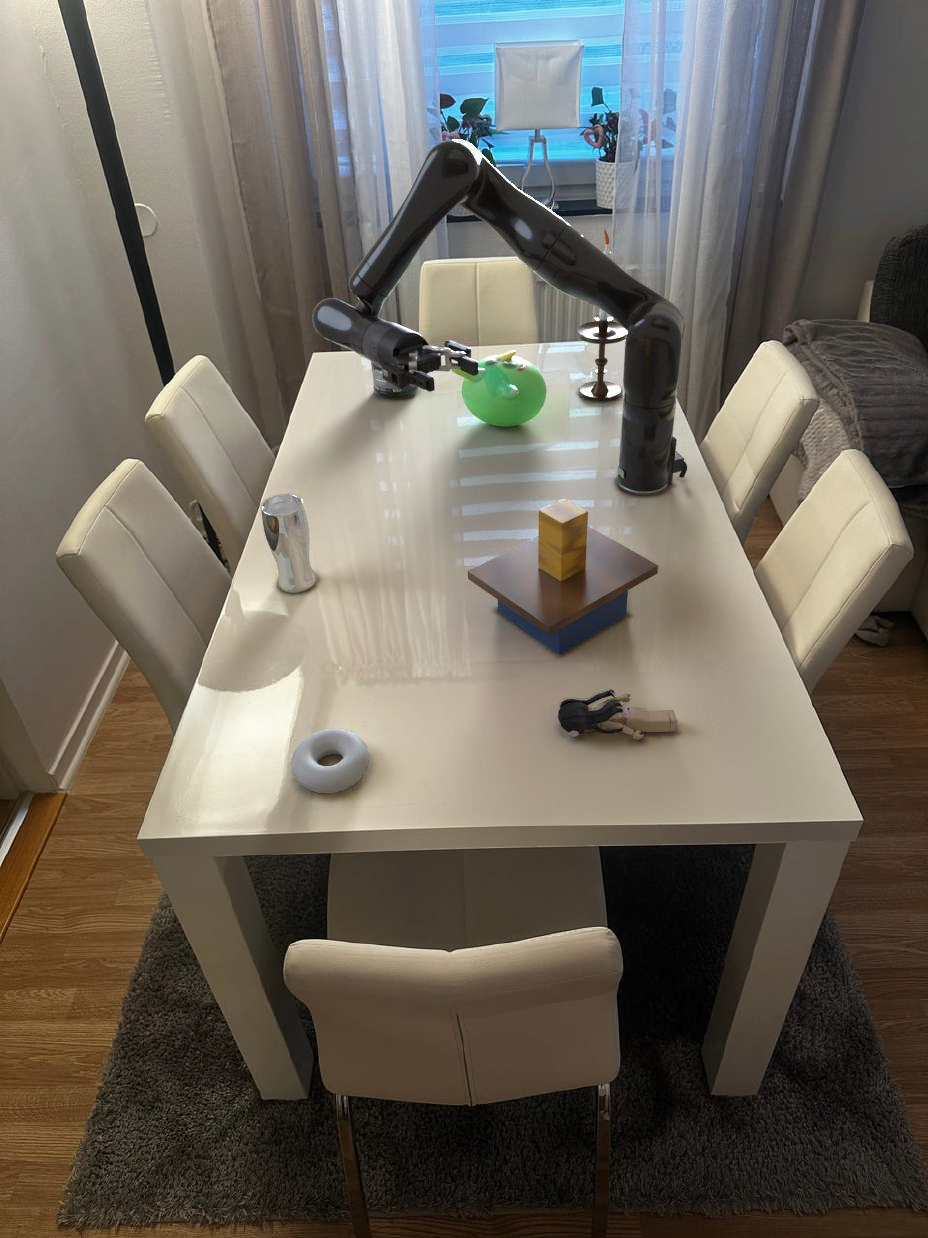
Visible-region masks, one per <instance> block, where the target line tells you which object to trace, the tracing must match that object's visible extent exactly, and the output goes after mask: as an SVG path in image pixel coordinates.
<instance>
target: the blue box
mask: <svg viewBox="0 0 928 1238" xmlns="http://www.w3.org/2000/svg"><path fill="white" fill-rule="evenodd" d="M628 595H629V590H628V591H626V592H624V593H622V594H621V595H619V596H617V597H615V598H614V599H612V600H610V601H608V602H607V603H605V604H603V605H601V606H600V607H598V608H596V609H594V610H593V611H591V612H589V613H587V614H586V615H584V616H582V617H580V618H579V619H577V620H575V621H573V622H572V623H570V624H568V625H566V626H565V627H563V628H561V629H559V630H558V631H556V632H554V633H552V634H551V635H548V634H546V633H545V632H544V631H542V630H541V629H539V628H538V627H536V626H535V625H534V624H532V623H531V622H529V621H528V620H526V619H525V618H523V617H522V616H521V615H519V614H518V613H516V612H515V611H513V610H512V609H511V608H509V607H508V606H506V605H505V604H503V603H502V602H500V601H499V600H498V599H497V612H498V613H500V614H501V615H503V616H504V617H506V618H507V619H508V620H510V621H511V622H513V623H514V624H515V625H517V626H518V627H520V628H521V629H523V630H524V631H526V633H528V634H530V635H531V636H533V637H534V638H535V639H536V640H538V641H540V642H541V643H542V644H544V645H545V646H547V647H548V648H550V650H552V651H554V652H555V653H557V654H558V655H561V654H563V653H564V652H566V651H568V650H569V649H571V648H573V647H575V646H577V645H578V644H580V643H581V642H584V641H585V640H586V639H588V638H590V637H591V636H594V635H595V634H597V633H598V632H600V631H602V630H604V629H605V628H607V627H609V626H611V625H612V624H614V623H615V622H617V621H619V620H620V619H623V618H624V617H626V616H627V608H628V597H629V596H628Z"/></svg>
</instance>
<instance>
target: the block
mask: <svg viewBox="0 0 928 1238" xmlns="http://www.w3.org/2000/svg"><path fill="white" fill-rule="evenodd" d="M588 519H589V511H588V510H587V509H585V508H583V507H582V506H579V505H577V504H576V503H574V502H572V501H571V500H568V499H567V498H566V497H565V498H561V499H559V500H557V501H554V502H552V503H551V504H548V505H546V506H544V507H542V508H540V509H538V536H539V540H538V567H539V568H540V569H542V570H543V571H545V572H546V573H548V574H550V575H551V576H553V577H554V578H556V579H557V580H559V581H561V582H562V581H564V580H565V579H567V578H569V577H571V576H573V575H575V574H577V573H579V572H580V571H582V570H584V569H586V547H587V526H589V525H588V523H589V522H588V521H589V520H588Z"/></svg>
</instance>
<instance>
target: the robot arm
mask: <svg viewBox="0 0 928 1238" xmlns="http://www.w3.org/2000/svg"><path fill="white" fill-rule="evenodd" d="M407 193H408V194H407V195H406V197H405V198H404V200H403V202H402V204H401V205H400V207H399V209H397V212H396V213H395V215H394V217H393V218H392V219H391V221H390V222H389V223H388V224H387V226H386V227H385V229H383V231H382V232H381V234H380V235H379V236H378V238H377V239H376V240H375V241H374V243H373V244H372V245H371V247H370V249H368V251H367V252H366V254H365V255H364V256H363V258H362V259H361V261H360V262H359V263H358V265H357V266H356V268H355V269H354V270H353V272H352V273H351V275H350V277H349V278H348V287H349V290H350V291H351V293H352V294H353V295H354V296H355V297H356V298H357V299H358V302H357V304H356V305H355V306H353V305H351V304H349V303H347V302H345V301H343V300H341V299H339V298H336V297H326V298H324V299H321V300H320V301H319V302H317V304H316V305H315V307H314V308H313V311H312V314H311V322H312V326H313V329H314V330H315V332H316V333H317V334H318V336H320V337H321V338H323V339H324V340H328V341H330V342H332V343H334V344H336V345H339V346H341V347H343V348H345V349H348V350H350V351H352V352H354V353H356V354H357V355H358V356H360V357H362V358H364V359H366V360H368V361H372V362H373V363H374V364H375V365H377V366H379V367H380V368H382V377H383V379H384V380H386V381H388V382H389V383H391V384H393V385H394V386H396V387H398V388H400V389H404V388H406V385H409V384H410V386H412V387H415V386H417V387H419V388H420V389H422V390H425V391H427V392H429V393H432V392H434V391H435V390H436V388H435V387H436V386H435V379H434V377H433V376H432V375H429V373H433V372H450V371H452V370H451V369H461V370H462V371H464V372H466V373H468V374H470V375H473V376H475V375H478V360H475V359H473V358H472V347H469V346H466V345H463V344H460V343H458V342H456V341H453V340H448V339H447V340H445V341H443V342H444V343H443V344H444V345H443V346H442V347H438V346H435V345H430V344H429V343H428V341H427V340H426V338H425V337H424V336H423V335H422V334H420V333H419V332H416V331H414V330H412V329H409V328H407V327H405V326H403V325H400V324H398V323H395V322H393V321H387V320H385V319H383V318H380V317H379V316H380V313H381V311H382V308H383V306H384V303H385V302H386V300H387V299H388V298H389V296H390V295H391V294H392V292H393V291H394V289H395V288H396V287H397V286H398V284H400V281H401V280H402V279H403V277H404V276H405V274H406V273H407V271H408V270H409V269H410V267H411V265H412V263H413V262H414V260H415V259H416V257H417V255H418V253H419V252H420V251H421V248H422V246H423V245H424V244H425V242H426V240H427V239H428V237H429V236H430V235H431V234H432V232H433V231H434V230H435V228H436V227H437V226H438V225H439V224H440V223H441V222H442V221H443V220H444V219H445V218H446V217H447V216H448V215H449V214H450V213H451V212H452V211H453V210H454V209H455V208H456V207H457V206H459V207H462V208H463V209H465V210H466V211H468V212H469V213H471V214H472V215H473V216H475V217H476V218H478V219H479V220H481V221H482V222H483V223H485V224H486V225H488V226H489V227H490V229H492V230H493V231H494V232H495V233H496V234H497V235H498V236H499V238H500V239H501V240H502V241H503V242H504V243H505V244H506V246H507V247H508V249H510V250H511V252H512V253H513V254H514V255H515V256H516V258H517V259H518V260H520V262H521V263H523V265H525V266H526V267H527V268H528V269H529V270H530V271H531V272H533V273H534V274H535V275H536V276H537V277H539V278H540V279H542V281H544V282H546V283H547V284H548V285H549V286H551V287H552V288H554V289H555V290H556V291H559V292H560V293H563V294H565V295H567V296H569V297H571V298H573V299H576V300H580V301H582V302H584V303H587V304H589V305H592V306H594V307H596V308H598V309H599V310H600V309H601V310H603V311H604V312H606V313H607V314H608V315H610V316H611V317H612V318H613V319H612V320H614V321H615V322H618V323H619V324H620V325H621V326H622V327H623V328H624V329H625V330H626V331H627V335H626V339H625V341H624V342H625V343H624V356H623V373H622V375H623V376H622V386H623V398H622V411H621V412H622V414H621V429H620V443H619V456H618V457H619V458H618V465H617V466H616V467H617V469H616V472H617V479H616V482H617V487H619V488H620V489H621V490H622V491H624V492H626V493H629V494H632V495H636V496H652V495H657V494H659V493H663V491H665V490H666V489H667V488H668V487H671V486H673V477H674V474H675V473H679V474H678V478H681V479H684V478H685V476H686V473H687V471H688V465H687V462H686V461H685V457H683V456H682V455H681V454H680V453H679V452H678V451H677V438H676V437H675V436H673V435H674V427H675V418H676V417H675V416H676V406H677V398H678V390H679V372H680V364H681V357H682V356H681V355H682V345H683V339H684V334H685V325H686V323H685V319H684V316H683V314H682V312H681V310H680V309H679V307H678V306H676V305H675V304H674V302H672V301H670V300H669V299H667V298H666V297H664V296H662V295H661V294H659V293H657V292H656V291H654V290H653V289H652V288H650V287H648V286H647V285H645V284H643V283H642V282H640V281H639V280H638V279H636V278H634V277H633V276H632V275H630V274H629V273H628V272H626V271H625V270H624V269H622V268H621V267H620V266H619V265H618V264H617V263H616V262H615V261H614V260H613V259H612V258H611V259H610V258H609V257H608V256H607V255H606V254H604V253H603V252H604V251H602V250H601V249H599V248H598V247H597V246H596V245H595V244H593V243H592V242H591V241H590V240H589V239H588V238H587V237H585V235H584V234H582V233H581V232H580V231H578V230H577V229H576V228H574V227H573V226H572V225H571V224H570V223H568V222H567V221H565V220H564V219H563V218H562V217H561V216H559V215H557V214H556V213H555V212H553V210H551V209H549V208H547V206H545V205H543V204H542V203H540V202H539V201H537V200H535V199H534V198H533V197H531V196H530V195H528V194H526V193H524V192H523V191H522V190H520V189H518V188H517V187H516V186H515V184H513V183H511V181H509V180H508V179H507V178H506V177H505V176H504V175H503V174H502V173H501V172H500V171H499V170H498V169H497V168H496V167H494V165H493V164H491V163H490V161H489V160H488V159H487V158H486V157H485V156H484V155H483V154H482V152H480V150H478V149H477V148H476V147H475V146H474V145H473V144H472V143H470V142H469V141H466V140H463V139H457V138H455V139H453V138H452V139H446V140H443V141H440V142H438V143H437V144H435V145H434V146H432V148H430V149H429V151H428V152H427V154H426V156H425V159H424V161H423V163H422V165H421V167H420V169H419V171H418V174H417V176H416V178H415V180H414V182H413V184H412V186H411V188H410V190H409V192H407ZM442 356H444V362H445V363H444V364H445V365H444V364H442ZM452 361H454V362H452ZM456 362H457V363H456Z"/></svg>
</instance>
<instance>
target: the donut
mask: <svg viewBox="0 0 928 1238" xmlns="http://www.w3.org/2000/svg"><path fill="white" fill-rule="evenodd" d="M329 755H338V756H341V757H342V759H341V760H340V761H339V762H337V763H335V764H333V765H322V764H319V761H320V760H321V759H322V758H324V757H326V756H329ZM369 762H370V753H369V749H368V745H367V743H366V741H364V740H363V738H362V737H361V736H360V735H358V734H357V733H355V732H353V731H352V730H348V729H344V728H325V729H322V730H321V729H320V730H318V731H315V732H314V733H311V734H310V735H309V734H308V735H307V736H306V737H305V738H304V739H303V740H301V741H300V742H299V743H298V745H297V746H296V747H295V749H294V750H293V753H292V756H291V760H290V766H291V774H292V775H293V777H294V779H295V781H297V783H298V784H299V785H300V786H302V787H303V788H305V789H306V790H308V791H310V792H314V793H318V794H334V793H338V792H342V791H344V790H346V789H348V788H350V787H352V786H354V785H355V784H356V783H358V782H359V781H360V780H361V779H362V777H363V776H364V774H365V773H366V771H367V769H368V767H369Z"/></svg>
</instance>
